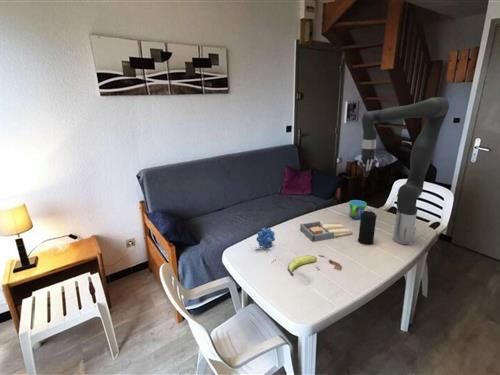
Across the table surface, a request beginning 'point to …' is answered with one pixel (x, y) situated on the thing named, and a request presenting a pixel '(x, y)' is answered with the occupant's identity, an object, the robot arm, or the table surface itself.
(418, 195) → the robot arm
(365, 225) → the aerosol can
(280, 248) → the table surface
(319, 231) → the peach rectangular block
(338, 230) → the beige wooden board
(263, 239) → the blue knobby ball
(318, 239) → the box
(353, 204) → the snack cup
